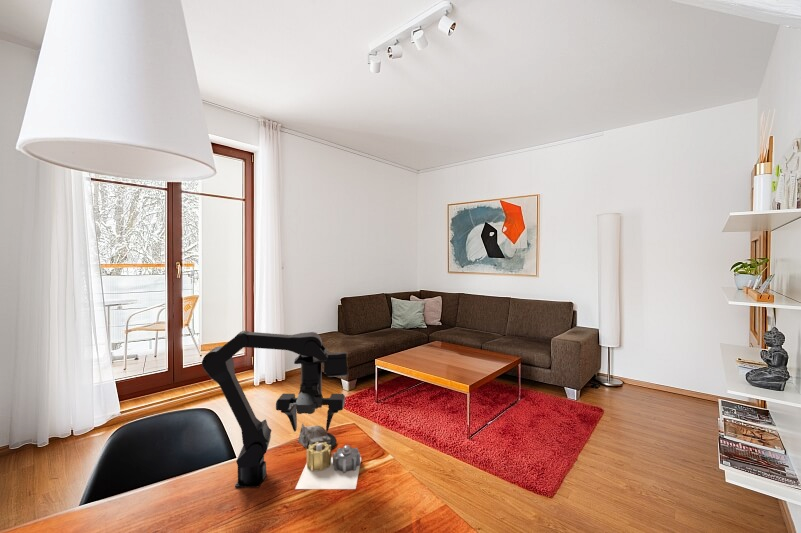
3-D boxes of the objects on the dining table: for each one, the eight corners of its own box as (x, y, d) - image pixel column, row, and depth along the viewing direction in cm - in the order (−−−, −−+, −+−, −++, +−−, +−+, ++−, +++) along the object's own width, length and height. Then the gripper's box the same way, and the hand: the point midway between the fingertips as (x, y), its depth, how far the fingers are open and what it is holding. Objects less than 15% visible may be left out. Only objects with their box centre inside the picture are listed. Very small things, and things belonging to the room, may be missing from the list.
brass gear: (304, 471, 103) (304, 453, 103) (310, 457, 110) (310, 441, 110) (328, 471, 103) (328, 453, 103) (332, 457, 110) (332, 441, 110)
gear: (330, 473, 103) (330, 453, 103) (335, 457, 111) (335, 439, 111) (358, 473, 103) (358, 453, 103) (361, 457, 111) (361, 439, 111)
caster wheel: (337, 457, 118) (308, 463, 112) (323, 436, 127) (296, 441, 121) (342, 439, 117) (313, 444, 111) (328, 419, 126) (300, 423, 120)
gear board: (295, 494, 96) (294, 466, 96) (309, 462, 111) (309, 437, 111) (355, 494, 96) (355, 466, 96) (361, 462, 111) (361, 437, 111)
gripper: (269, 387, 96) (269, 445, 96) (339, 387, 96) (339, 445, 97) (282, 373, 107) (282, 425, 108) (345, 374, 107) (345, 426, 108)
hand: (311, 431), depth 105 cm, fingers open, 9 cm apart
